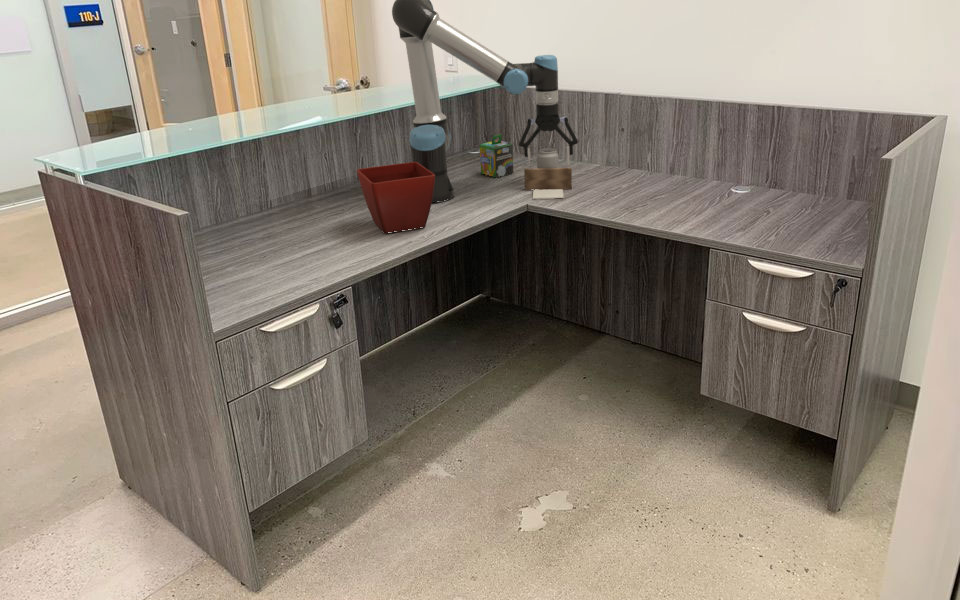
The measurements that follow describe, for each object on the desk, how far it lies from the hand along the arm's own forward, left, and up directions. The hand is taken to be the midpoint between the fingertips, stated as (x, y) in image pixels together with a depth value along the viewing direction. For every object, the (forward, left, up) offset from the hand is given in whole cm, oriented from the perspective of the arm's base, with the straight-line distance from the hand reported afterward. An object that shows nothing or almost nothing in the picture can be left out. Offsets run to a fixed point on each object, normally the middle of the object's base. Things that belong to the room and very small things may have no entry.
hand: (548, 165), depth 266 cm
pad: (-9, -12, -7) cm, 16 cm away
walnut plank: (-4, -5, -7) cm, 10 cm away
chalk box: (-7, +24, -7) cm, 26 cm away
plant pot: (-63, -11, -7) cm, 64 cm away
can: (0, 0, -7) cm, 7 cm away
